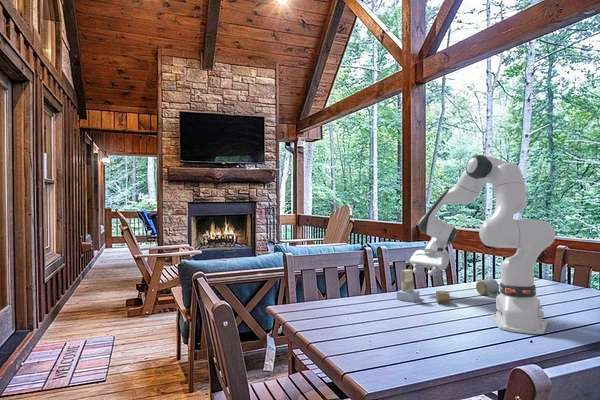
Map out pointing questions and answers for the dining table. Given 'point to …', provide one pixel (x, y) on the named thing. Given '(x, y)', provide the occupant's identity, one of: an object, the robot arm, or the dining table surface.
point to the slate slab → (408, 295)
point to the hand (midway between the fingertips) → (421, 273)
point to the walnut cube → (443, 297)
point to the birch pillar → (407, 280)
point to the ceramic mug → (488, 287)
